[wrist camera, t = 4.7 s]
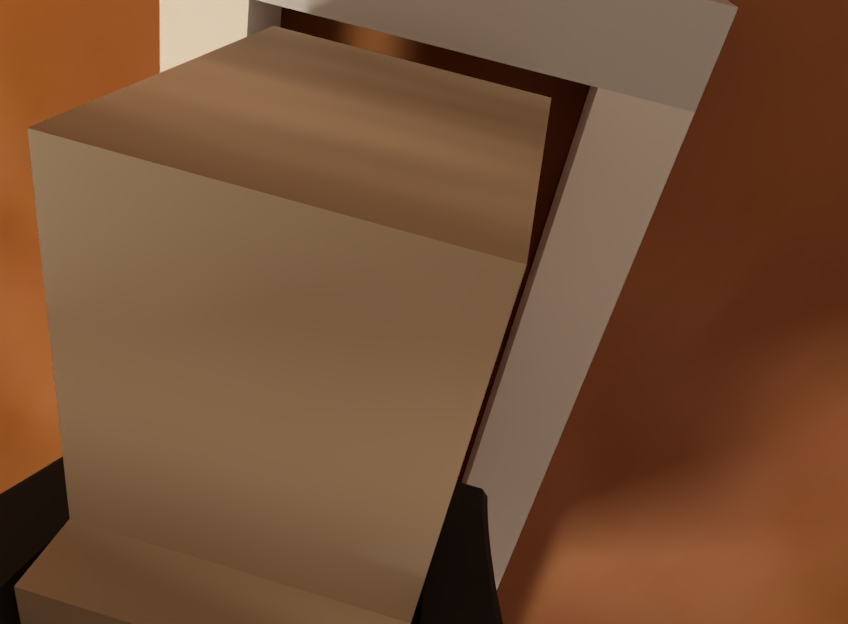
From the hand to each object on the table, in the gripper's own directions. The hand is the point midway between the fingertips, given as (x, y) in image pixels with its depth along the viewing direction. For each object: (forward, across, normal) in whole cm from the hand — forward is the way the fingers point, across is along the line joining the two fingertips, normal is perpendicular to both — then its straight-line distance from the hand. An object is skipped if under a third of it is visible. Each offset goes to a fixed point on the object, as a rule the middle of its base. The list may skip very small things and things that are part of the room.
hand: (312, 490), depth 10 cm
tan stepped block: (+2, 0, 0) cm, 2 cm away
